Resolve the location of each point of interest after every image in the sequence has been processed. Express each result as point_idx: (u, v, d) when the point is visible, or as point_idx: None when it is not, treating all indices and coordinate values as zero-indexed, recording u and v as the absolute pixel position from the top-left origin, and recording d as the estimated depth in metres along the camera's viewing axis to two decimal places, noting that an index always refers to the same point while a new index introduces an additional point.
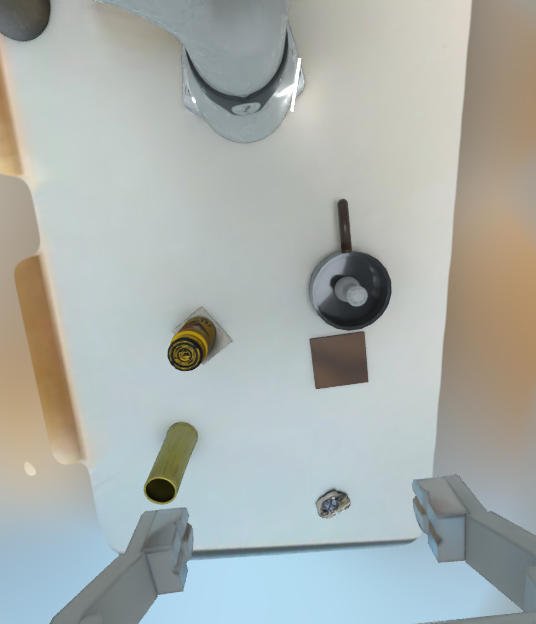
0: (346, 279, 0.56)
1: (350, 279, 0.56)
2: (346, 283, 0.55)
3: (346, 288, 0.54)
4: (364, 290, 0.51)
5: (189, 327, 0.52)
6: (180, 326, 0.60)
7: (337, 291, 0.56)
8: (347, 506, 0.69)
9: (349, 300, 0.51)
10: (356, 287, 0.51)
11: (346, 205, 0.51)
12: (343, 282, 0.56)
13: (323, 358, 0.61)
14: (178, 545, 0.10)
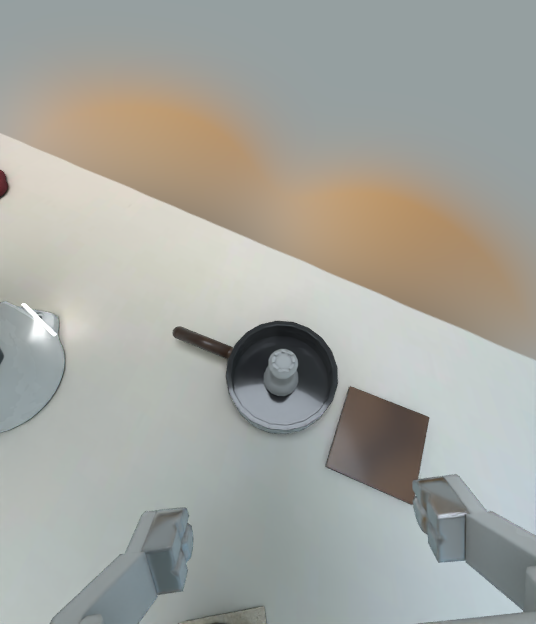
0: (266, 371, 0.41)
1: (268, 367, 0.41)
2: (269, 373, 0.40)
3: (272, 374, 0.38)
4: (280, 350, 0.36)
5: None
6: None
7: (274, 390, 0.40)
8: None
9: (282, 374, 0.35)
10: (270, 358, 0.36)
11: (181, 328, 0.42)
12: (267, 376, 0.40)
13: (364, 463, 0.38)
14: (178, 545, 0.10)
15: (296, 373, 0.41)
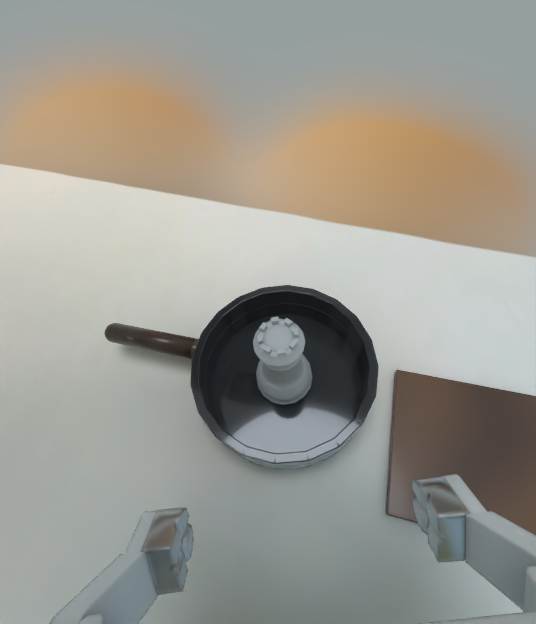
0: (258, 368, 0.25)
1: (261, 360, 0.25)
2: (262, 368, 0.24)
3: (266, 368, 0.23)
4: (270, 321, 0.21)
5: None
6: None
7: (276, 395, 0.24)
8: None
9: (280, 360, 0.19)
10: (256, 336, 0.21)
11: (116, 325, 0.27)
12: (260, 376, 0.25)
13: None
14: (178, 545, 0.10)
15: (306, 363, 0.25)
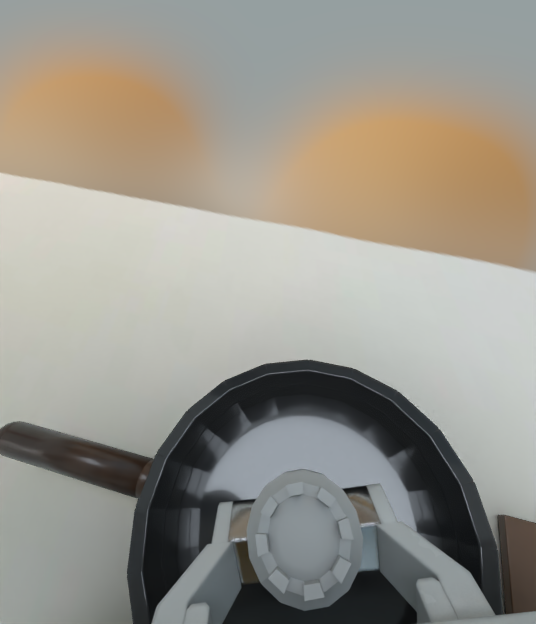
0: None
1: None
2: None
3: None
4: (283, 482, 0.10)
5: None
6: None
7: None
8: None
9: (310, 601, 0.08)
10: (253, 521, 0.09)
11: (14, 428, 0.15)
12: None
13: None
14: None
15: None
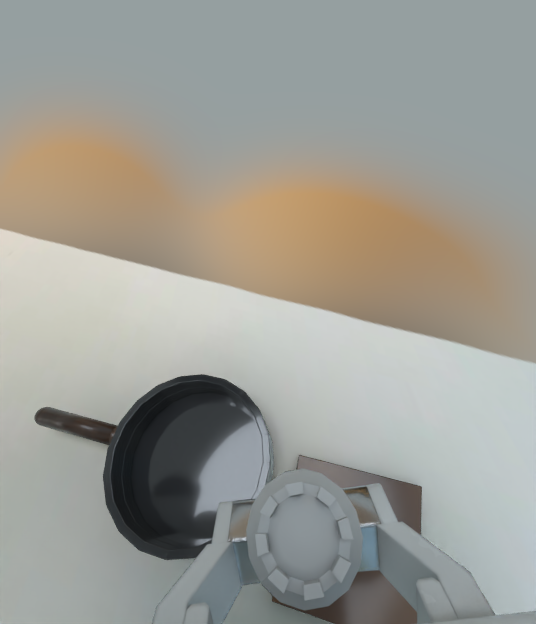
0: None
1: None
2: None
3: None
4: (283, 482, 0.10)
5: None
6: None
7: None
8: None
9: (309, 600, 0.08)
10: (253, 521, 0.09)
11: (45, 410, 0.29)
12: None
13: None
14: None
15: None
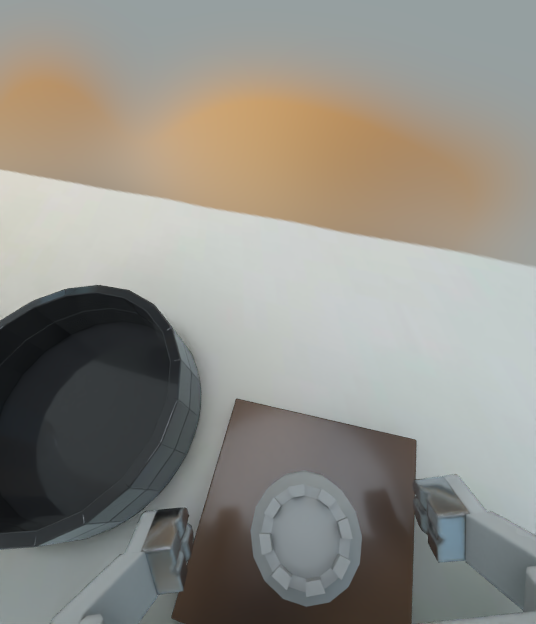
0: None
1: None
2: None
3: None
4: (285, 484, 0.10)
5: None
6: None
7: None
8: None
9: (311, 597, 0.09)
10: (257, 521, 0.10)
11: None
12: None
13: (267, 592, 0.15)
14: (178, 545, 0.10)
15: None
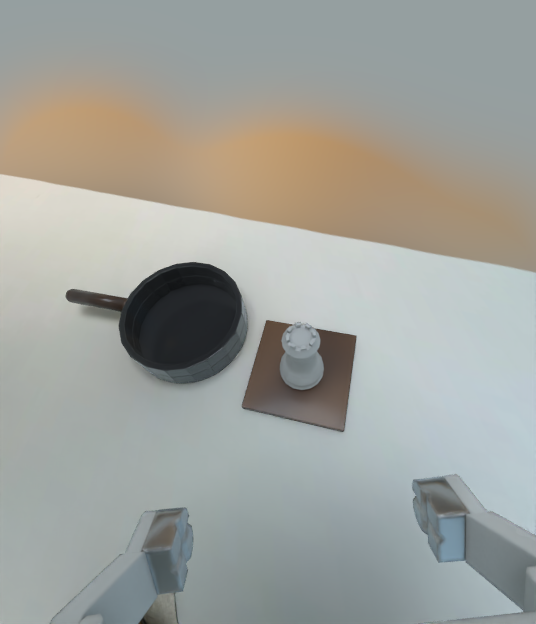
0: (281, 362, 0.32)
1: (283, 355, 0.33)
2: (286, 361, 0.31)
3: (289, 361, 0.30)
4: (293, 325, 0.28)
5: None
6: None
7: (296, 382, 0.31)
8: None
9: (302, 354, 0.27)
10: (283, 336, 0.28)
11: (74, 290, 0.38)
12: (283, 367, 0.32)
13: (284, 395, 0.32)
14: (178, 545, 0.10)
15: (319, 357, 0.32)
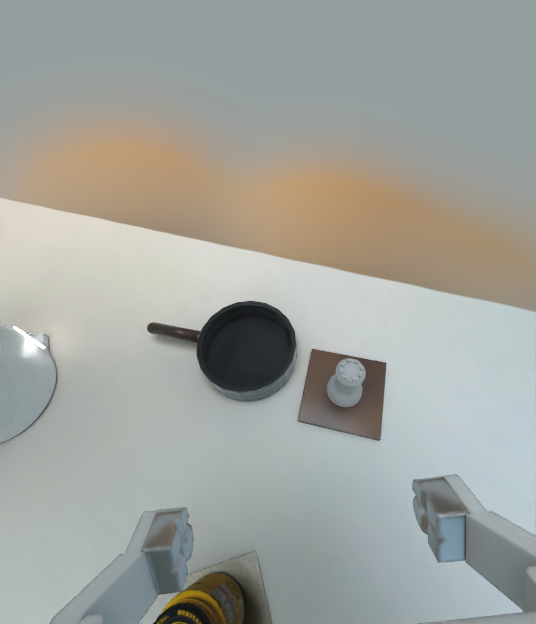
0: (329, 385, 0.41)
1: (330, 380, 0.41)
2: (334, 385, 0.40)
3: (339, 386, 0.39)
4: (344, 360, 0.37)
5: None
6: None
7: (342, 401, 0.40)
8: None
9: (353, 383, 0.35)
10: (337, 369, 0.36)
11: (154, 323, 0.47)
12: (331, 390, 0.40)
13: (331, 411, 0.41)
14: (178, 545, 0.10)
15: None
